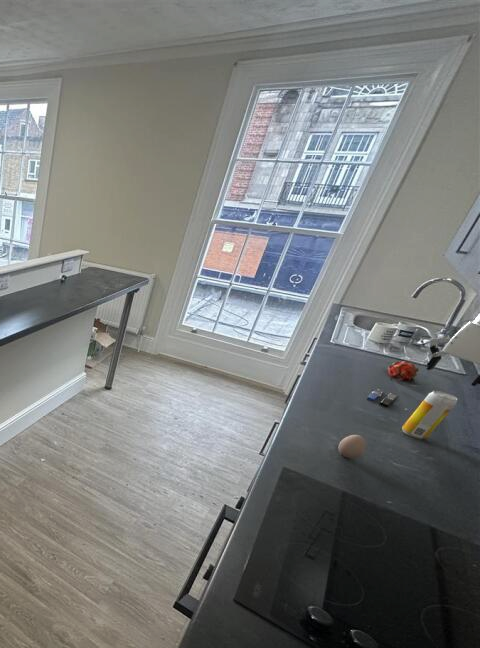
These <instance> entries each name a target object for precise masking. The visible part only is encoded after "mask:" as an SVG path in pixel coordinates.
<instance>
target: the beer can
mask: <svg viewBox="0 0 480 648" xmlns="http://www.w3.org/2000/svg"><path fill="white" fill-rule="evenodd" d="M457 401H458V398H457V396H454V395H452V394H451V393H448V392H444V391H441V390H440V391H439V390H432V392H429V393H428V394H427V396H426V397H425V398H424V399H423V400H422V402H421V403H420V404H419V406H418V407H417V408H416V409H415V411H413V413H412V414H411V415H410V416H409V418H408V419H407V420H406V421H405V423H404V424H403V425H402V427H401V429H402V432H403V433H404V434H406V435H408V436H410V437H412V438H414V439H418V440H423V439H426V438H428V437H429V436H430V434H432V432H433V431H434V430H435V429H436V428H437V426H438V425H440V423H441V422H442V421H443V420H444V418H445V417H446V416H447V415H448V414H449V412H450V411H451V410H452V409H453V408H454V407H455V406H456V404H457Z"/></svg>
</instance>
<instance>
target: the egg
mask: <svg viewBox="0 0 480 648" xmlns="http://www.w3.org/2000/svg"><path fill="white" fill-rule="evenodd" d="M366 448H367V442H366V439H365V438H364V437H363V436H362V435H359V434H350V435H348V436H346V437H344V438H342V439H341V441H340V442H339V444H338V452H339V454H340V455H341V456H342V455H343V456H342V457H344V458H346V457H347V459H355V458H358V457H360V456H362V455H363V454H364V452H365V451H366Z"/></svg>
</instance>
